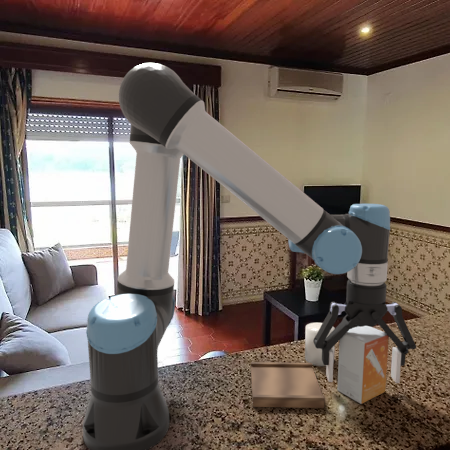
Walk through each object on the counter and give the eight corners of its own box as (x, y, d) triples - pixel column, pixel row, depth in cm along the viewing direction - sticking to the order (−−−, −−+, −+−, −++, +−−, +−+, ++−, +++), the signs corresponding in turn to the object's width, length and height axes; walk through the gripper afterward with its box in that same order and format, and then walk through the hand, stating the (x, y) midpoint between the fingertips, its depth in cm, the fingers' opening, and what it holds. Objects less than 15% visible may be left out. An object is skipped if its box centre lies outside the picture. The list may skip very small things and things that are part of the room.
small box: (361, 405, 78) (364, 343, 76) (336, 390, 83) (338, 332, 81) (386, 392, 82) (390, 333, 80) (361, 379, 87) (363, 323, 85)
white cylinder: (307, 366, 93) (308, 334, 92) (301, 348, 102) (302, 318, 101) (337, 366, 93) (338, 334, 92) (328, 348, 102) (329, 319, 101)
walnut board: (252, 406, 77) (252, 396, 77) (250, 370, 91) (250, 362, 91) (324, 407, 77) (324, 398, 77) (311, 371, 91) (311, 362, 90)
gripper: (307, 286, 76) (304, 388, 79) (439, 286, 75) (431, 389, 78) (301, 275, 83) (299, 369, 86) (421, 275, 82) (414, 370, 85)
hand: (362, 379), depth 82 cm, fingers open, 13 cm apart
